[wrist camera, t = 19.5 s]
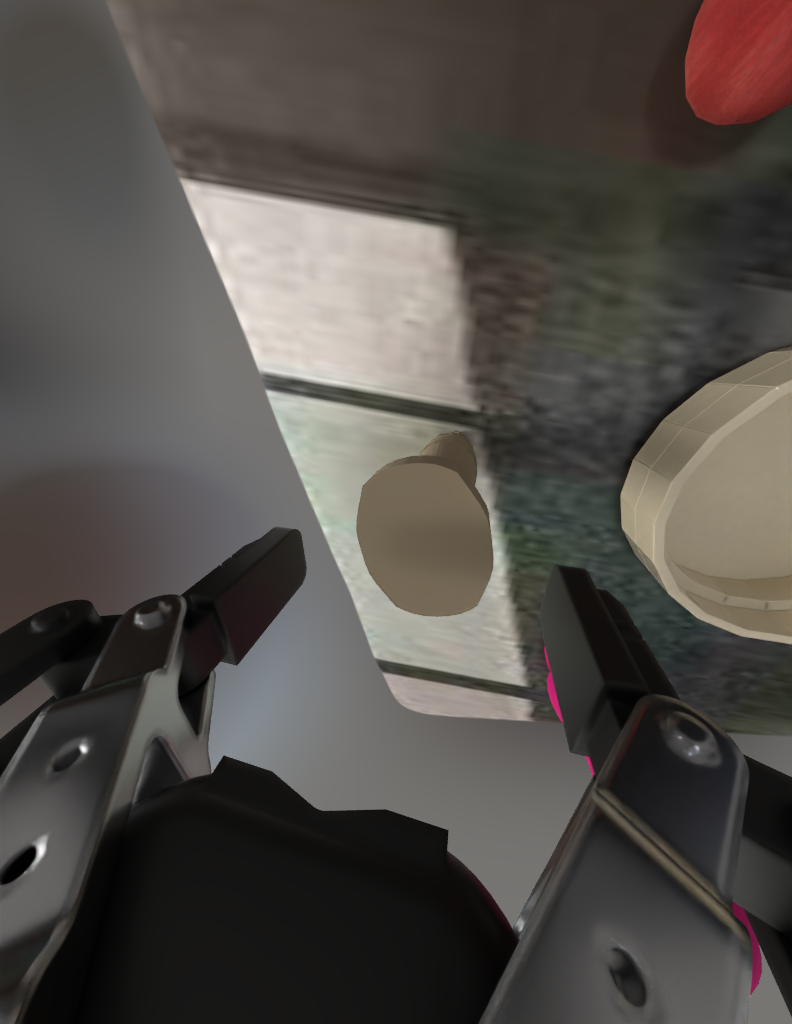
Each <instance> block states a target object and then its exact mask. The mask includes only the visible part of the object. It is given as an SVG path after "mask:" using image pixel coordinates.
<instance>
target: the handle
mask: <svg viewBox="0 0 792 1024" xmlns="http://www.w3.org/2000/svg"><path fill="white" fill-rule="evenodd" d="M476 477H477V464H476V457H475V453H474V450H473V447H472V445H471V444H470V443H469V442H468V440H466V439H465V438H464V437H463V436H462V434H461V433H460V432H458V431H455V432H453V433H447V434H440V435H438V436H437V437H436V438H434V439H433V440H432V441H431V442H430V443H428V444H427V445H426V447H425V448H424V449H423V451H422V452H421V454H420V455H419V456H410V457H406V458H402V459H398V460H396V461H394V462H391V463H389V464H387V465H385V466H384V467H382V468H381V469H380V470H378V471H377V472H376V473H375V474H374V475H373V476H372V477H371V478H370V479H369V480H368V481H367V482H366V483H365V484H364V485H363V487H362V492H361V498H360V503H359V508H358V515H357V536H358V541H359V544H360V548H361V551H362V554H363V557H364V561H365V564H366V566H367V569H368V571H369V573H370V575H371V576H372V578H373V579H374V581H375V582H376V584H377V585H378V586H379V587H380V588H381V590H382V591H383V592H384V593H385V594H386V595H387V597H388V598H389V599H390V600H391V601H392V602H393V603H394V605H395V606H396V607H398V608H400V609H403V610H405V611H408V612H410V613H413V614H418V615H423V616H436V617H439V616H451V615H457V614H461V613H464V612H466V611H469V610H471V609H472V608H474V607H476V606H477V605H478V603H479V601H480V599H481V597H482V595H483V593H484V591H485V589H486V587H487V584H488V582H489V580H490V577H491V573H492V570H493V548H492V539H491V530H490V521H489V513H488V509H487V506H486V504H485V502H484V500H483V499H482V497H481V495H480V494H479V492H478V490H477V489H476V487H475V483H476Z"/></svg>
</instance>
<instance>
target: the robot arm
mask: <svg viewBox="0 0 792 1024" xmlns="http://www.w3.org/2000/svg"><path fill="white" fill-rule="evenodd" d="M305 576H306V561H305V555H304V548H303V542H302V537H301V533H300V531H299V530H297V529H290V528H282V527H275V528H273V529H272V530H270V531H269V532H268V533H267V534H265V535H264V536H263V537H262V538H260V539H258V540H256V541H254V542H252V543H250V544H248V545H245V546H244V547H242V548H241V549H240V550H239V551H237V552H236V553H235V554H233V555H232V558H228V559H227V560H226V561H224V562H223V563H222V565H221V566H220V565H219V566H218V567H217V568H215V569H214V570H213V571H212V572H210V573H209V574H208V575H206V576H205V577H204V578H202V579H201V580H200V581H199V582H197V583H196V584H195V585H194V586H192V587H191V588H190V589H188V590H187V591H186V592H184V593H183V594H182V595H181V596H179V595H162V596H158V597H155V598H151V599H148V600H146V601H144V602H142V603H140V604H138V605H136V606H134V607H133V608H131V609H130V610H128V611H127V612H126V613H125V614H123V615H110V616H99V614H98V613H97V611H96V609H95V608H94V606H93V604H92V603H91V602H89V601H87V600H73V601H68V602H64V603H60V604H56V605H54V606H51V607H48V608H46V609H44V610H41V611H40V612H38V613H36V614H34V615H32V616H30V617H28V618H27V619H25V620H23V621H21V622H20V623H18V624H16V625H15V626H13V627H12V628H10V629H8V630H6V631H5V632H3V633H1V634H0V706H1V705H2V704H4V703H5V702H6V701H8V700H9V699H10V698H12V697H13V696H14V695H16V694H17V693H18V692H20V691H21V690H22V689H23V688H25V687H26V686H28V685H29V684H30V683H32V682H33V681H34V680H36V679H37V678H38V677H40V679H41V680H42V681H43V683H44V684H45V685H46V686H47V687H48V689H49V690H50V691H51V692H52V694H53V696H52V697H51V698H50V699H49V700H47V701H46V702H45V703H44V704H42V705H41V706H40V707H39V708H37V709H36V710H35V711H34V712H33V713H31V714H30V715H29V716H28V717H27V718H25V720H23V721H22V722H21V723H19V724H18V725H17V726H16V727H14V728H13V729H12V730H11V731H10V732H8V733H7V734H6V735H5V736H3V737H2V738H1V739H0V1024H748V1014H749V1003H750V992H751V981H752V967H753V950H752V942H751V938H750V934H749V931H748V929H747V927H746V926H745V925H744V923H743V922H741V921H740V920H739V919H738V918H737V917H736V916H735V915H734V913H733V906H732V901H733V902H734V903H736V904H737V905H739V906H740V907H742V908H743V909H744V911H745V913H746V916H747V918H748V920H749V922H750V925H751V927H752V929H753V931H754V934H755V936H756V938H757V940H758V942H759V945H760V947H761V949H762V951H763V954H764V956H765V958H766V960H767V963H768V965H769V967H770V969H771V971H772V974H773V976H774V978H775V980H776V983H777V985H778V987H779V989H780V992H781V994H782V996H783V998H784V1001H785V1003H786V1005H787V1007H788V1009H789V1012H790V1014H791V1016H792V777H790V776H788V775H786V774H783V773H782V772H779V771H777V770H775V769H773V768H771V767H769V766H766V765H764V764H762V763H760V762H758V761H756V760H754V759H752V758H749V757H748V756H746V755H744V754H742V753H741V751H740V749H739V748H738V746H737V745H736V744H735V742H734V741H733V740H732V739H731V737H730V736H729V735H728V734H727V733H726V732H725V731H724V730H723V729H722V728H721V727H720V726H718V725H717V724H716V723H715V722H714V721H713V720H711V719H710V718H709V717H707V716H706V715H705V714H703V713H702V712H700V711H699V710H697V709H695V708H694V707H692V706H690V705H688V704H686V703H684V702H682V701H681V700H680V698H679V697H678V695H677V693H676V692H675V690H674V688H673V687H672V685H671V683H670V682H669V680H668V678H667V677H666V675H665V673H664V672H663V670H662V668H661V667H660V665H659V663H658V662H657V660H656V658H655V657H654V655H653V653H652V652H651V650H650V648H649V647H648V645H647V644H646V642H645V641H644V640H642V635H641V634H640V632H639V630H638V629H637V627H636V626H634V624H633V623H634V622H633V620H632V619H631V617H630V615H629V614H628V612H627V610H626V609H625V607H624V606H623V605H622V604H621V603H620V602H619V601H618V600H617V599H616V598H614V597H613V596H612V595H611V594H610V593H609V592H608V591H606V590H599V589H597V588H596V587H595V585H594V583H593V581H592V579H591V577H590V575H589V573H588V572H587V570H585V569H581V568H574V567H566V566H559V565H555V566H554V567H553V568H552V570H551V574H550V577H549V580H548V584H547V587H546V591H545V594H544V598H543V601H542V604H541V609H540V627H541V632H542V636H543V640H544V644H545V648H546V653H547V657H548V661H549V665H550V669H551V674H552V678H553V682H554V686H555V690H556V695H557V699H558V703H559V707H560V711H561V716H562V720H563V724H564V728H565V732H566V737H567V741H568V745H569V749H570V752H571V753H575V754H579V755H583V756H587V757H590V760H591V764H592V767H593V771H594V775H593V777H592V779H591V781H590V783H589V785H588V786H587V788H586V790H585V792H584V794H583V796H582V798H581V800H580V802H579V804H578V806H577V807H576V809H575V812H574V813H573V815H572V817H571V819H570V821H569V823H568V825H567V827H566V829H565V831H564V832H563V834H562V836H561V838H560V840H559V842H558V844H557V846H556V848H555V850H554V852H553V854H552V856H551V857H550V859H549V861H548V863H547V865H546V867H545V869H544V870H543V872H542V874H541V876H540V878H539V879H538V881H537V883H536V885H535V887H534V888H533V890H532V892H531V894H530V896H529V898H528V899H527V902H526V903H525V905H524V907H523V909H522V911H521V913H520V915H519V917H518V919H517V920H516V922H515V924H514V926H513V928H512V927H511V925H510V924H509V922H508V920H507V918H506V917H505V915H504V914H503V912H502V911H501V909H500V908H499V906H498V905H497V903H496V902H495V900H494V899H493V897H492V896H491V894H490V893H489V892H488V891H487V889H486V888H485V887H484V886H483V884H482V883H481V882H480V881H479V880H478V878H477V877H476V876H475V875H474V874H473V873H472V872H471V871H470V870H469V869H468V868H467V867H466V866H465V865H464V864H463V863H462V862H461V861H460V860H458V859H457V858H456V857H455V856H453V855H452V854H451V853H449V852H448V851H447V844H448V830H446V829H443V828H440V827H437V826H434V825H431V824H428V823H425V822H422V821H419V820H416V819H413V818H410V817H407V816H404V815H401V814H397V813H395V812H392V811H389V810H349V811H348V810H347V811H321V810H318V809H316V808H314V807H313V806H312V805H311V804H309V803H308V802H307V801H306V800H305V799H304V798H302V797H301V796H300V795H299V794H298V793H297V792H295V791H294V790H293V789H292V788H291V787H290V786H288V785H287V784H286V783H285V782H284V781H282V780H281V779H280V778H279V777H278V776H277V775H275V774H274V773H273V772H272V771H269V770H266V769H262V768H259V767H257V766H254V765H251V764H248V763H245V762H241V761H239V760H236V759H233V758H229V757H226V756H223V758H222V759H221V761H220V762H219V764H218V765H217V767H216V769H215V770H214V772H213V773H212V774H211V765H210V759H209V753H208V741H209V731H210V723H211V714H212V705H213V697H214V688H215V678H216V674H215V671H214V668H215V667H216V666H217V665H218V663H219V662H220V661H221V662H225V663H229V664H233V665H238V664H239V663H240V661H241V660H242V659H243V657H244V656H245V655H246V654H247V652H248V651H249V650H250V649H251V647H252V646H253V645H254V644H255V642H256V641H257V640H258V639H259V637H260V636H261V635H262V634H263V632H264V631H265V630H266V629H267V627H268V626H269V625H270V624H271V622H272V621H273V620H274V619H275V617H276V616H277V615H278V614H279V612H280V611H281V610H282V609H283V607H284V606H285V605H286V604H287V602H288V601H289V600H290V598H291V597H292V596H293V595H294V594H295V592H296V591H297V590H298V589H299V587H300V586H301V585H302V583H303V581H304V579H305Z"/></svg>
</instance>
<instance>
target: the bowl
mask: <svg viewBox="0 0 792 1024" xmlns="http://www.w3.org/2000/svg"><path fill="white" fill-rule="evenodd" d="M621 523H622V530H623V532H624V533H625V535H626V537H627V539H628V541H629V543H630V545H631V547H632V549H633V551H634V553H635V555H636V556H637V557H638V558H639V560H640V561H641V562H642V563H643V564H644V565H645V567H646V568H647V569H648V570H649V571H650V573H651V574H652V575H653V576H654V577H655V578H656V580H657V581H658V582H659V583H660V584H661V585H662V587H663V588H664V589H665V590H666V591H667V592H668V594H669V595H670V596H672V597H673V598H674V599H675V600H676V601H678V602H679V603H680V604H681V605H682V606H684V607H685V608H686V609H687V610H688V611H689V612H691V613H692V614H693V615H694V616H695V617H697V618H698V619H700V620H703V621H705V622H708V623H710V624H712V625H715V626H717V627H720V628H722V629H725V630H727V631H730V632H732V633H734V634H737V635H740V636H744V637H750V638H756V639H762V640H768V641H775V642H781V643H787V644H792V346H790V347H787V348H783V349H779V350H775V351H772V352H769V353H766V354H764V355H762V356H760V357H758V358H756V359H754V360H753V361H751V362H749V363H747V364H745V365H743V366H741V367H739V368H737V369H735V370H733V371H731V372H729V373H727V374H725V375H723V376H721V377H719V378H717V379H715V380H713V381H711V382H709V383H708V384H706V385H705V386H704V387H702V388H701V389H700V390H699V391H698V392H696V393H695V394H694V395H693V396H691V397H690V398H689V399H688V400H686V401H685V402H684V403H683V404H682V405H680V406H679V407H678V408H677V409H675V410H674V411H673V412H672V413H670V414H669V415H668V416H667V417H666V418H664V419H663V421H662V422H661V423H660V424H659V426H658V427H657V428H656V429H655V431H654V432H653V433H652V435H651V436H650V437H649V439H648V440H647V441H646V443H645V444H644V445H643V447H642V448H641V449H640V451H639V452H638V453H637V455H636V456H635V457H634V459H633V461H632V464H631V467H630V470H629V472H628V475H627V478H626V481H625V483H624V486H623V489H622V492H621Z"/></svg>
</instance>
